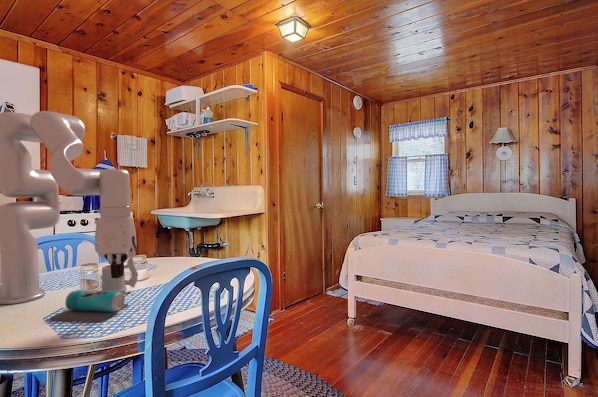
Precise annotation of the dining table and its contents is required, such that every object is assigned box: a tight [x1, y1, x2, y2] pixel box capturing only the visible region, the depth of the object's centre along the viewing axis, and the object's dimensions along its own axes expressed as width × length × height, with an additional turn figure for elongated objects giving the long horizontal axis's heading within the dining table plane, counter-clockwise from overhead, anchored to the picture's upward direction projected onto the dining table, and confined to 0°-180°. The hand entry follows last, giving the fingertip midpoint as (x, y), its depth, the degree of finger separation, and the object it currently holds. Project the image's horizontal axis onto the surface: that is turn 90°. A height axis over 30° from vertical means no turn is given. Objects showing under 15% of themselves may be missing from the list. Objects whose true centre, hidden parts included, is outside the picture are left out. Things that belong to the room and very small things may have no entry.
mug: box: [100, 256, 139, 296], centre depth 115 cm, size 8×12×12 cm, turn 139°
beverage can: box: [64, 289, 126, 312], centre depth 98 cm, size 6×6×15 cm
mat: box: [49, 303, 129, 323], centre depth 98 cm, size 15×12×1 cm
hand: (117, 276), depth 96 cm, fingers closed
